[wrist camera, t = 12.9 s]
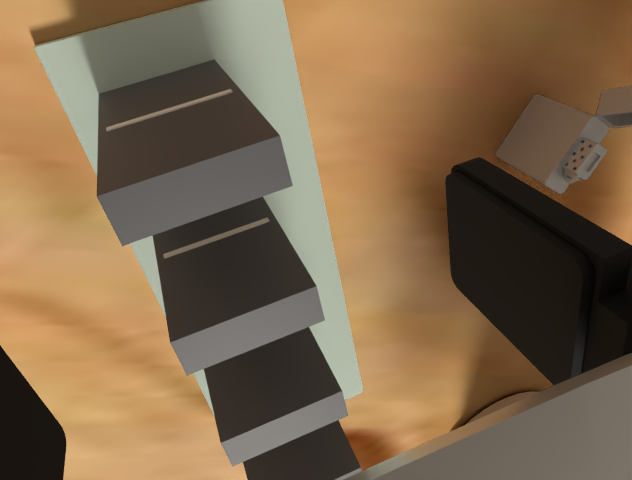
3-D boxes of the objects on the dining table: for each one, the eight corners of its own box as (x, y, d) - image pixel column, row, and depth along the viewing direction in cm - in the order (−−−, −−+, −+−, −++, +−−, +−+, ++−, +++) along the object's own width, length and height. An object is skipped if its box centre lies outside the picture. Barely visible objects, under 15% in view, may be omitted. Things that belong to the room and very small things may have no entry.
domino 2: (146, 203, 24) (169, 341, 16) (247, 170, 25) (316, 284, 17) (159, 232, 25) (187, 376, 17) (255, 199, 26) (325, 321, 18)
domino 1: (98, 92, 21) (95, 194, 13) (214, 58, 22) (279, 133, 14) (115, 130, 22) (123, 247, 14) (225, 96, 23) (293, 187, 15)
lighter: (511, 165, 31) (616, 227, 25) (493, 155, 31) (598, 216, 24) (585, 58, 29) (721, 95, 23) (568, 44, 28) (705, 78, 22)
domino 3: (185, 290, 27) (220, 442, 19) (273, 258, 28) (342, 390, 20) (195, 313, 28) (233, 467, 20) (280, 281, 29) (348, 416, 21)
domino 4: (215, 359, 30) (256, 514, 22) (294, 328, 31) (360, 466, 23) (223, 378, 31) (266, 533, 23) (299, 347, 32) (365, 486, 24)
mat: (275, -19, 22) (279, -18, 21) (360, 387, 37) (363, 392, 37) (35, 45, 20) (33, 47, 19) (229, 443, 35) (230, 449, 35)
